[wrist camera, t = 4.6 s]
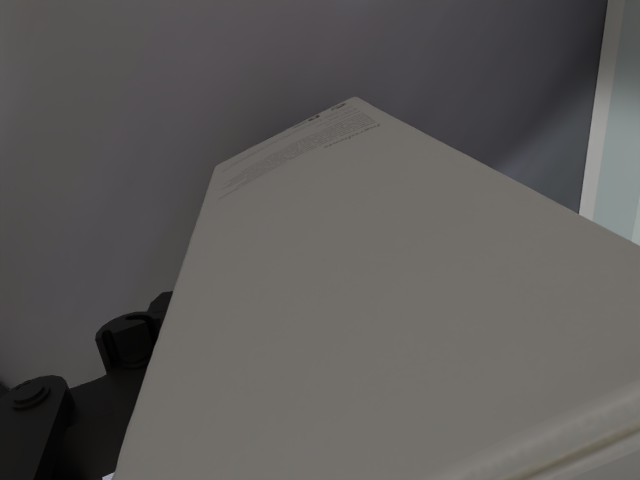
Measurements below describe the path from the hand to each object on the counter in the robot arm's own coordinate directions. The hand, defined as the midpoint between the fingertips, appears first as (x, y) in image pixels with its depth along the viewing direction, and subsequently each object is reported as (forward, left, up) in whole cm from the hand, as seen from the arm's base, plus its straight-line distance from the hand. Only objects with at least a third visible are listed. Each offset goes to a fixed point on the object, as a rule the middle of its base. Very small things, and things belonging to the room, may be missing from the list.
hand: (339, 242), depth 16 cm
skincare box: (0, 0, -3) cm, 3 cm away
